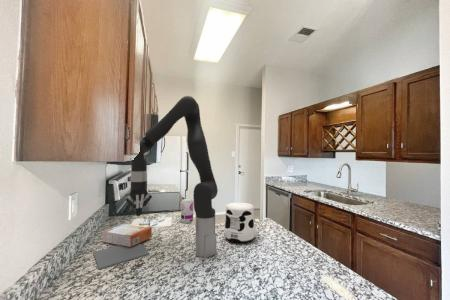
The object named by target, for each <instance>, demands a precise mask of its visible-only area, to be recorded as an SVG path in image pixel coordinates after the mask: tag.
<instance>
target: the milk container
mask: <svg viewBox="0 0 450 300" xmlns="http://www.w3.org/2000/svg"><path fill="white" fill-rule="evenodd" d="M254 209H255V208H254V204H252V203H249V202H241V201H240V202H239V201H238V202H235V201H234V202H230V203H227V204H226V205H225V221H224V222H225V223H224V227H223V232H224V233H223V234H224V236H225V238H226V239H227V240H229V241H232V242H234V243H235V242H236V243H247V242H250V241H252V240H253V239H255V236H256V231H257V229H256V225H255V210H254Z"/></svg>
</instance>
